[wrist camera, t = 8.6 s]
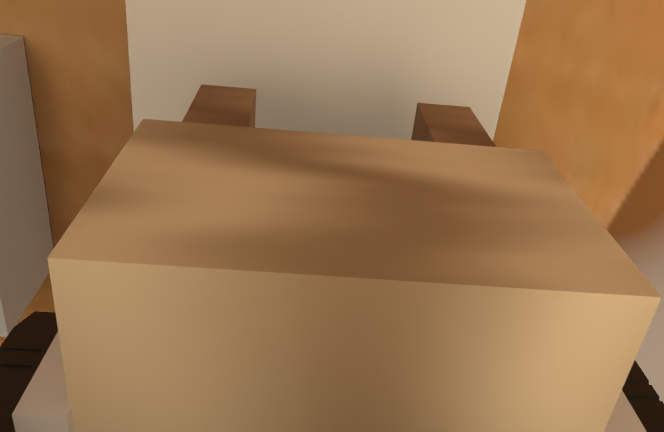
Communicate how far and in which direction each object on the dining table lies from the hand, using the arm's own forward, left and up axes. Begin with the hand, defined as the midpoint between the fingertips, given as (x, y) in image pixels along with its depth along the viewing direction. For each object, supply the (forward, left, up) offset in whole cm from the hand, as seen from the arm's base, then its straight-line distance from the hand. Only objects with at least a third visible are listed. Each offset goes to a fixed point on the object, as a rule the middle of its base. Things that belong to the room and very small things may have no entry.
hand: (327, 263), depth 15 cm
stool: (0, 0, -3) cm, 3 cm away
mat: (0, 0, -11) cm, 11 cm away
